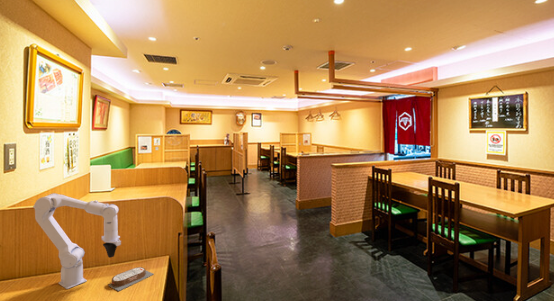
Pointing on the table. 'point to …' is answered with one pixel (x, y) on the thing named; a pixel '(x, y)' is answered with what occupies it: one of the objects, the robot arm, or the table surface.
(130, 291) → the table surface
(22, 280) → the table surface
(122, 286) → the slate mat
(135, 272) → the tin
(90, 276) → the table surface
